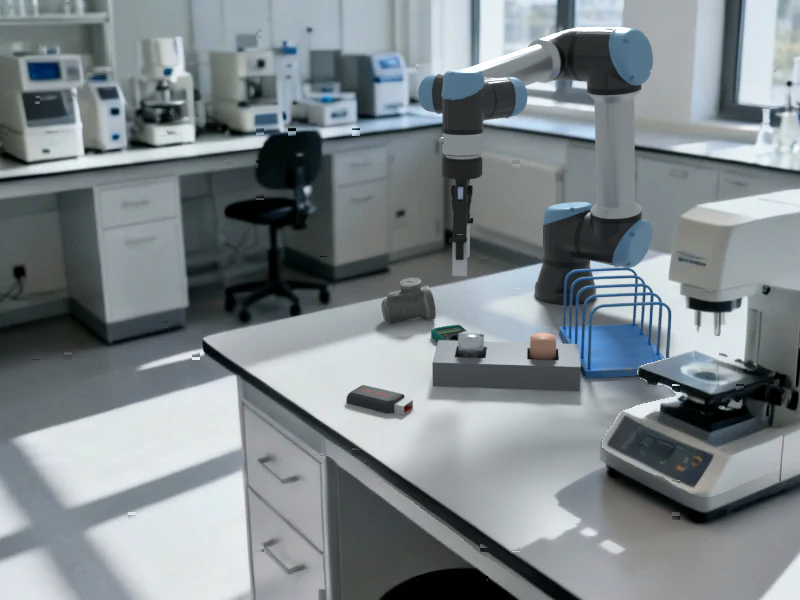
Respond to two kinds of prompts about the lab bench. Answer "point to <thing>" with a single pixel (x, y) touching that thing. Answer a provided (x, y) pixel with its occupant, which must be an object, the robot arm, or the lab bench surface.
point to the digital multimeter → (447, 333)
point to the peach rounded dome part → (543, 346)
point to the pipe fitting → (409, 302)
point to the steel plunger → (471, 344)
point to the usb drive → (379, 400)
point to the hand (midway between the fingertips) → (461, 265)
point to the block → (507, 367)
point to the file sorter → (613, 331)
